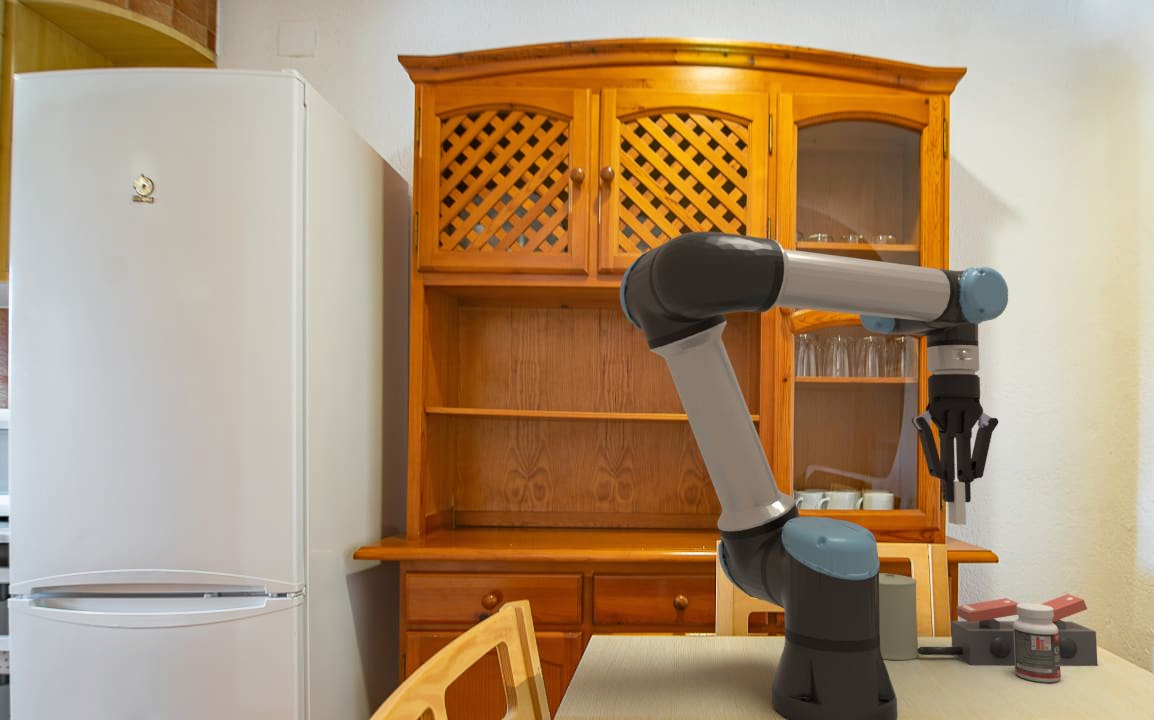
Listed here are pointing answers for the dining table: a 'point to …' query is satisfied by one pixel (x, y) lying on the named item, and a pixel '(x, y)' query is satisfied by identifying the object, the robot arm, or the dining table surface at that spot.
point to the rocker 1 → (987, 610)
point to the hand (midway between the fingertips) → (957, 523)
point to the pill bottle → (1036, 643)
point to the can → (898, 617)
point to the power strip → (996, 643)
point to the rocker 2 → (1066, 606)
